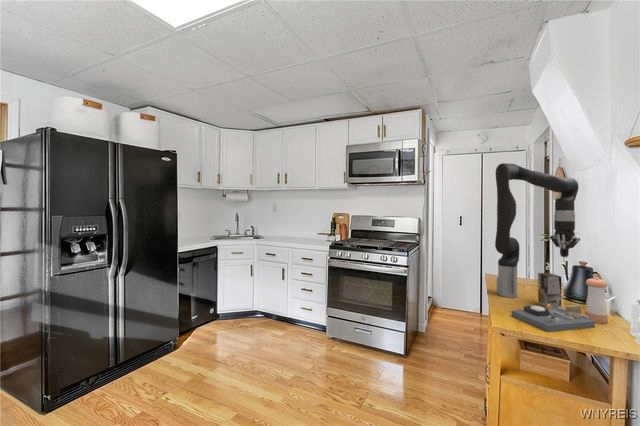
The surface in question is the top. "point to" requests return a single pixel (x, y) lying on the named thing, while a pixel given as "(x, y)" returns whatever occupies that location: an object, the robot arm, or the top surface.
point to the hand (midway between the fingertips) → (564, 256)
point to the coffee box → (549, 289)
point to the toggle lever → (550, 310)
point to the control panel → (547, 323)
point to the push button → (538, 308)
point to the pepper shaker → (596, 300)
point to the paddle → (573, 311)
